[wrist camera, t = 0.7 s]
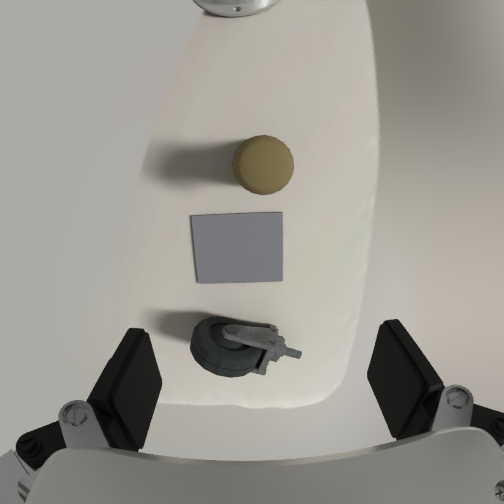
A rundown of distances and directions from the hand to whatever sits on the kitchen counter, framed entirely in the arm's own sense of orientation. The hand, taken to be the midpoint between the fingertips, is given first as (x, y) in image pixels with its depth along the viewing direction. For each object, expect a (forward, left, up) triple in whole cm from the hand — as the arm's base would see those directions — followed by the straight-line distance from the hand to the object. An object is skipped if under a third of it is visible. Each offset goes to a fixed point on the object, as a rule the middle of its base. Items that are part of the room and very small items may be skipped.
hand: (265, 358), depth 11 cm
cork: (-7, +1, -26) cm, 26 cm away
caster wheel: (+16, -1, -26) cm, 31 cm away
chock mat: (+4, -2, -25) cm, 26 cm away
